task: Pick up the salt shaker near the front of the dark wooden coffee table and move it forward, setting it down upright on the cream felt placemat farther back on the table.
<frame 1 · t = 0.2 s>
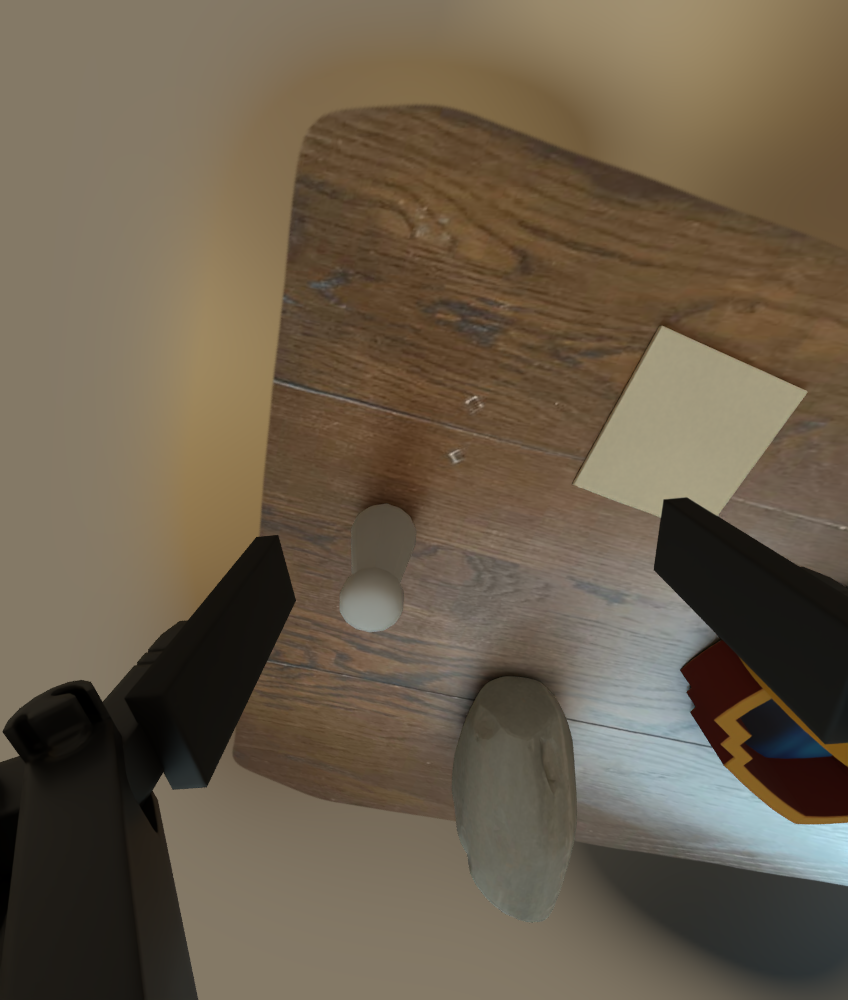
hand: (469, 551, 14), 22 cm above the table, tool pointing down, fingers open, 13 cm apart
decorative stone: (503, 719, 48), on the table
decorative basket: (826, 670, 45), on the table
placemat: (682, 439, 35), on the table
salt shaker: (386, 522, 38), on the table
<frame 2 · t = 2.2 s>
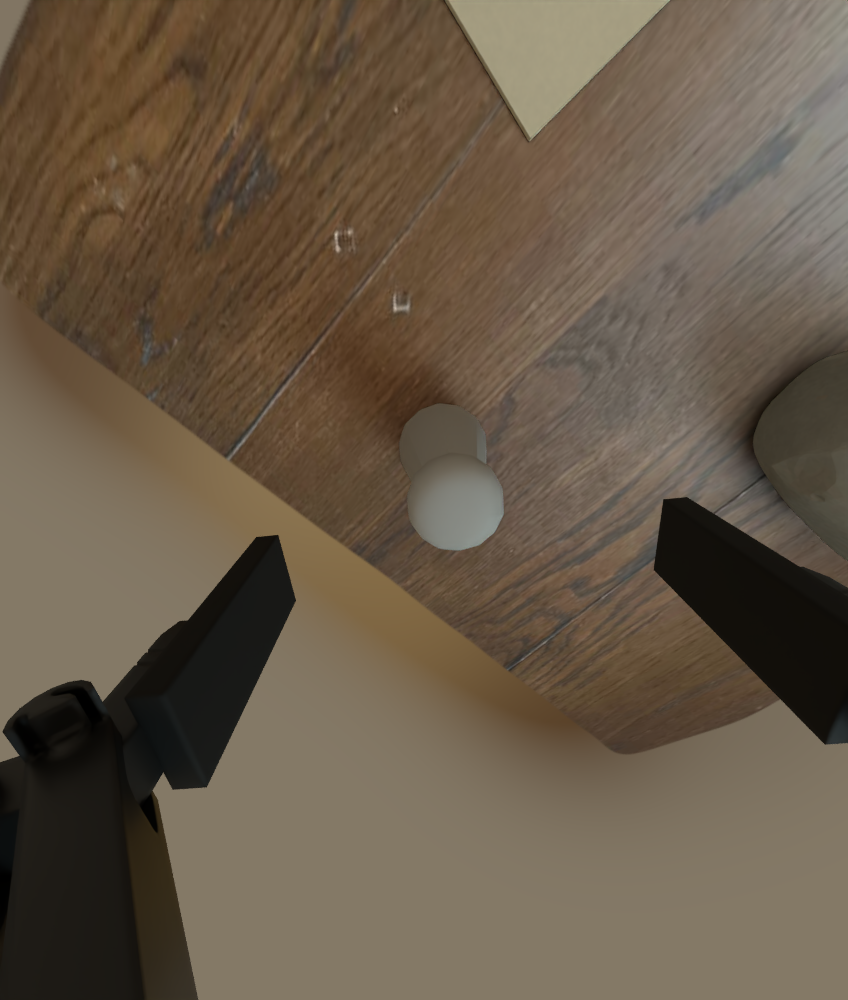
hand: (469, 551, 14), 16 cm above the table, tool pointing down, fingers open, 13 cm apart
decorative stone: (835, 451, 29), on the table
salt shaker: (440, 438, 29), on the table
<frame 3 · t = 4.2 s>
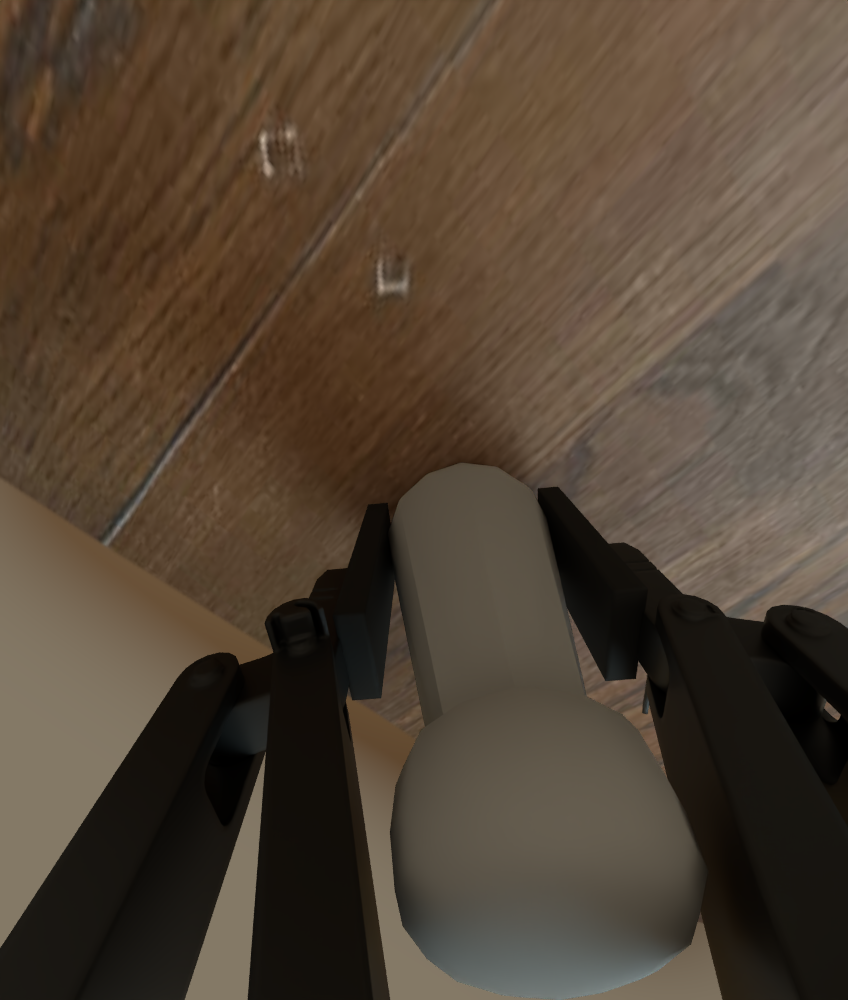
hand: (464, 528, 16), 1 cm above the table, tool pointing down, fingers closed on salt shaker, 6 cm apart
salt shaker: (461, 511, 17), on the table, touching gripper
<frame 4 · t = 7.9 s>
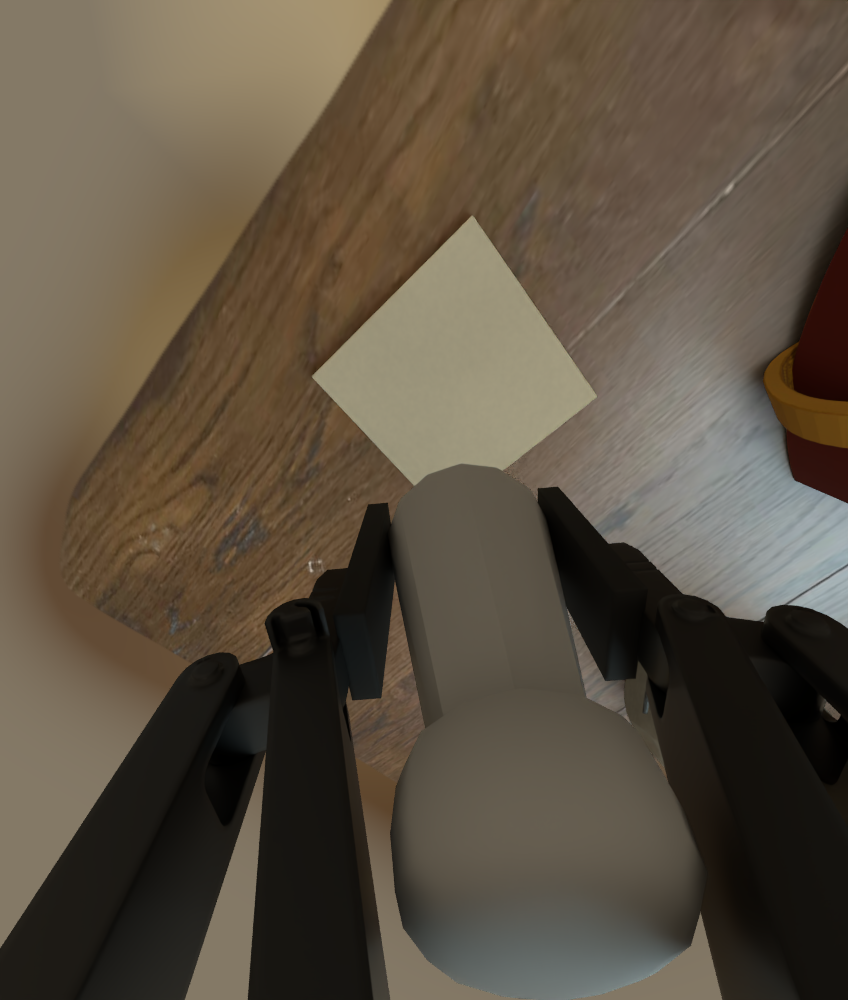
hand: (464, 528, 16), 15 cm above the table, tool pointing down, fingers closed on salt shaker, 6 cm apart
decorative stone: (695, 680, 39), on the table
placemat: (455, 386, 28), on the table
salt shaker: (461, 512, 17), point 13 cm above the table, touching gripper
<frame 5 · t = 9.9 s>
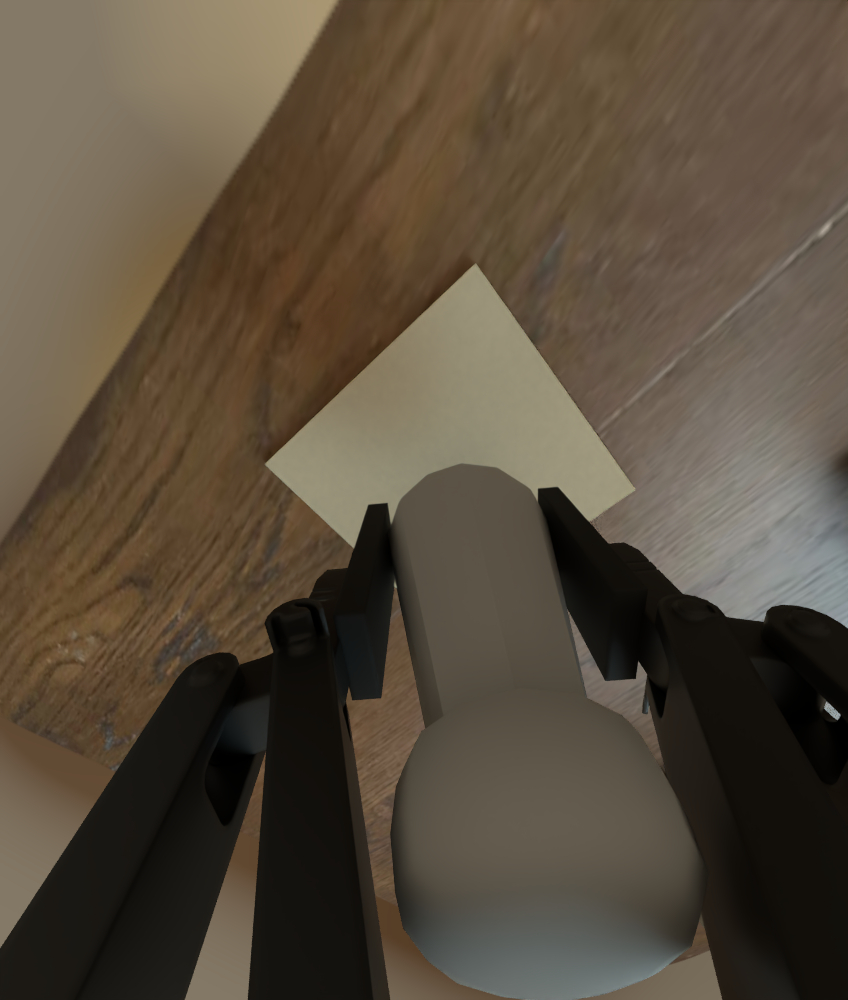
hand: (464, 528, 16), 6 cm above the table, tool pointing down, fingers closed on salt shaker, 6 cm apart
placemat: (452, 474, 21), on the table
salt shaker: (461, 512, 17), point 5 cm above the table, touching gripper
when the fingers open (2 cm above the table, at t = 11.4 s): salt shaker stays where it is, resting on placemat.
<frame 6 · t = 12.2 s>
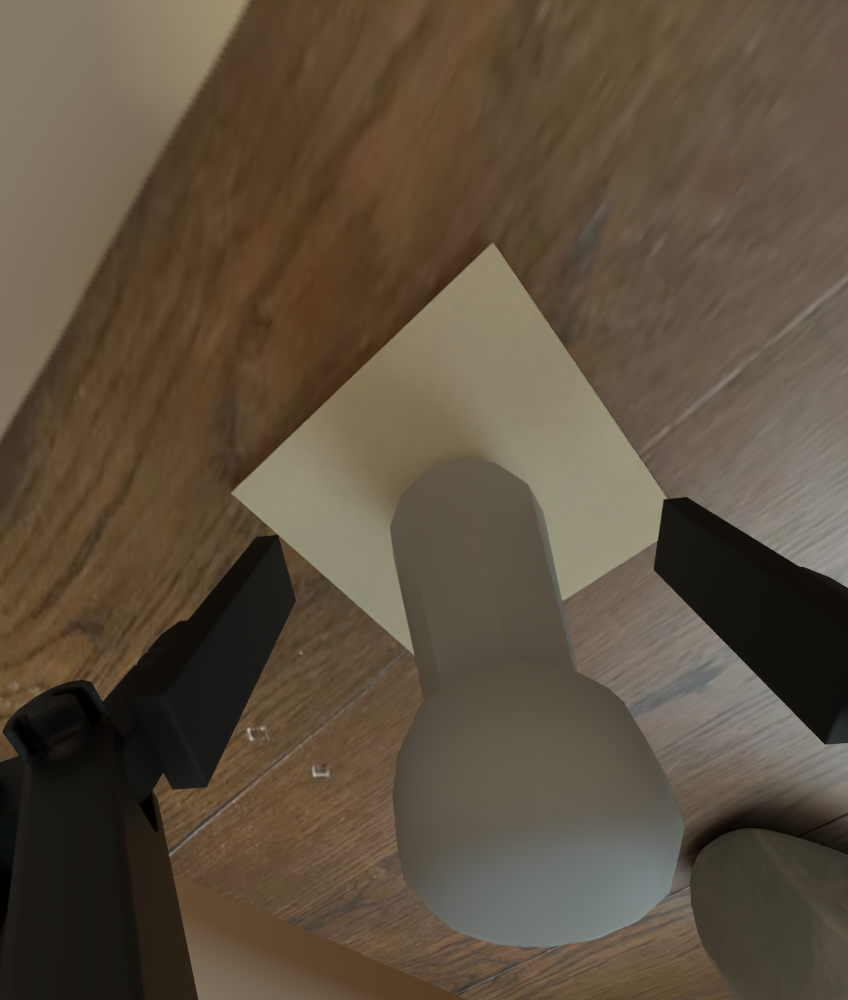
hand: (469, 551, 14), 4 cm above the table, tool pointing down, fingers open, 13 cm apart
decorative stone: (781, 860, 28), on the table
placemat: (460, 504, 18), on the table
salt shaker: (461, 507, 17), resting on placemat
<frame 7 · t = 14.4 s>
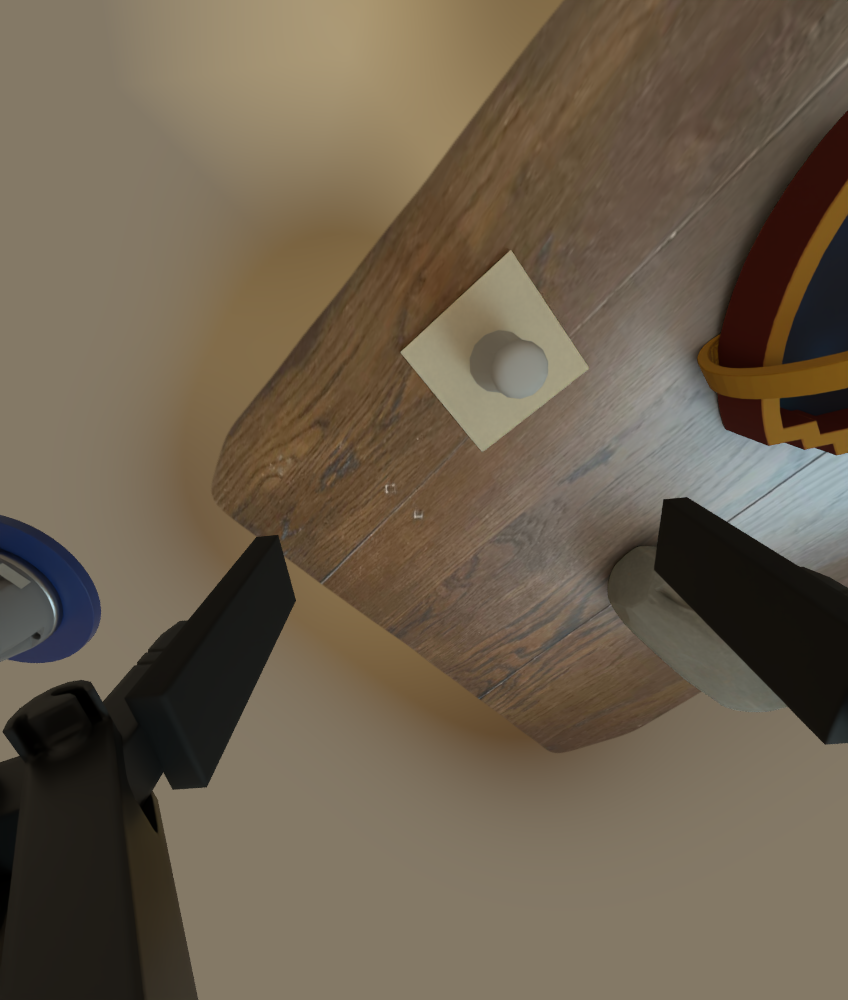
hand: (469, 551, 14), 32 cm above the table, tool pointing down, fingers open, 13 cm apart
decorative stone: (661, 584, 52), on the table
placemat: (494, 360, 42), on the table
salt shaker: (495, 360, 42), resting on placemat
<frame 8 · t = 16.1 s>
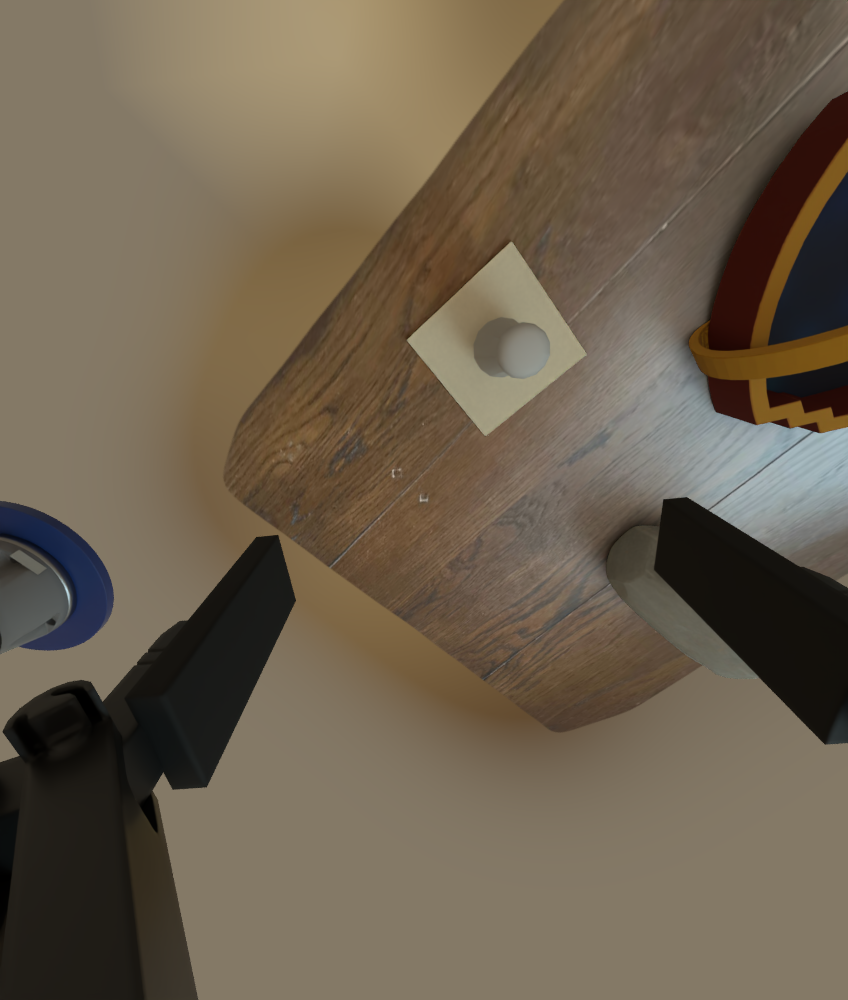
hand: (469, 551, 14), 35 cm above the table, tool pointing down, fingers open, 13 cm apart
decorative stone: (657, 563, 55), on the table
decorative basket: (835, 268, 41), on the table
placemat: (496, 347, 44), on the table
salt shaker: (497, 347, 44), resting on placemat
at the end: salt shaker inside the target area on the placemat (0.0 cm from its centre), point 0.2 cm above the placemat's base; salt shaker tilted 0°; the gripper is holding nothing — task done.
